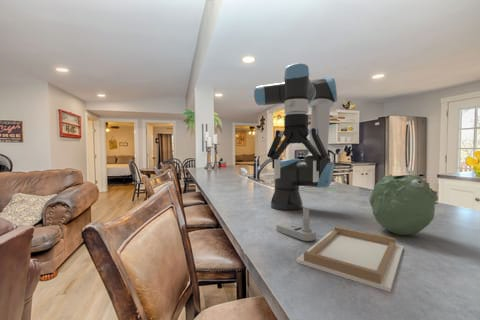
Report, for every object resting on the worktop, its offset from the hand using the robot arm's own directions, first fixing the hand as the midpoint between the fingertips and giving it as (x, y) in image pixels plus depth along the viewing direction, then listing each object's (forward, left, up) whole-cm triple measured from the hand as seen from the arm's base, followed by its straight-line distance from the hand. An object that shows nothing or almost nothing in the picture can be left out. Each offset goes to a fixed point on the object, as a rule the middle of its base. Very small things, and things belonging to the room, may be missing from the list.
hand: (295, 180), depth 78 cm
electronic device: (0, 0, -18) cm, 18 cm away
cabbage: (-22, +27, -18) cm, 39 cm away
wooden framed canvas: (+5, +19, -18) cm, 27 cm away
